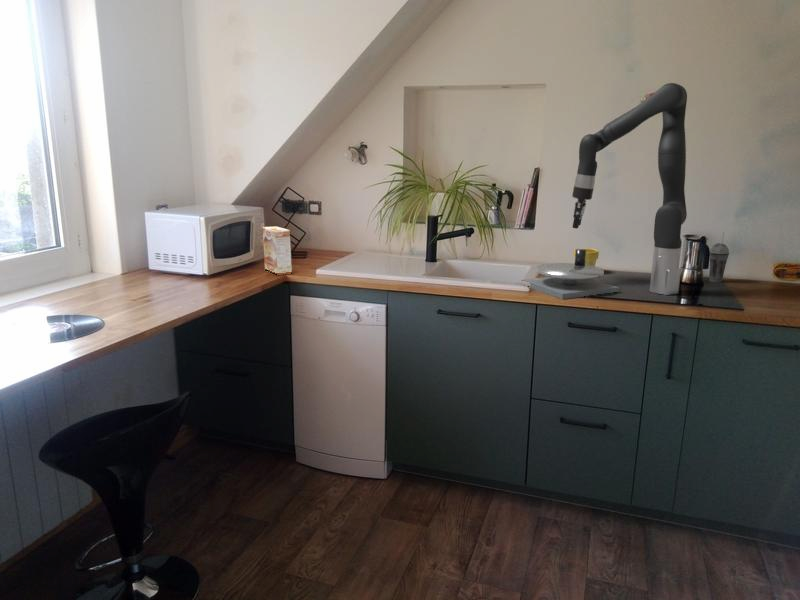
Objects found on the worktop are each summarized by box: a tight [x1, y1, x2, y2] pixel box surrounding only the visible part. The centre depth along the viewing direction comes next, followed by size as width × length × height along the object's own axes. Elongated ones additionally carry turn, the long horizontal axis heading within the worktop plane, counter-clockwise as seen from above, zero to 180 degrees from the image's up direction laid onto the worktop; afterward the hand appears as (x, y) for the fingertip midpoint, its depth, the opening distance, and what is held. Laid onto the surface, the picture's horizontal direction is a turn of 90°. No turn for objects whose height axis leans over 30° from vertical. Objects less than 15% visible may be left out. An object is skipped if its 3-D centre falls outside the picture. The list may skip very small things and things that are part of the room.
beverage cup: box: [708, 231, 730, 283], centre depth 245 cm, size 7×7×20 cm
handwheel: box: [536, 248, 605, 280], centre depth 232 cm, size 25×25×8 cm
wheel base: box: [520, 276, 620, 300], centre depth 234 cm, size 26×26×6 cm
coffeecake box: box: [262, 225, 293, 273], centre depth 264 cm, size 15×7×20 cm, turn 33°
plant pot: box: [573, 248, 600, 266], centre depth 264 cm, size 10×10×10 cm
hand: (576, 226), depth 243 cm, fingers open, 8 cm apart
